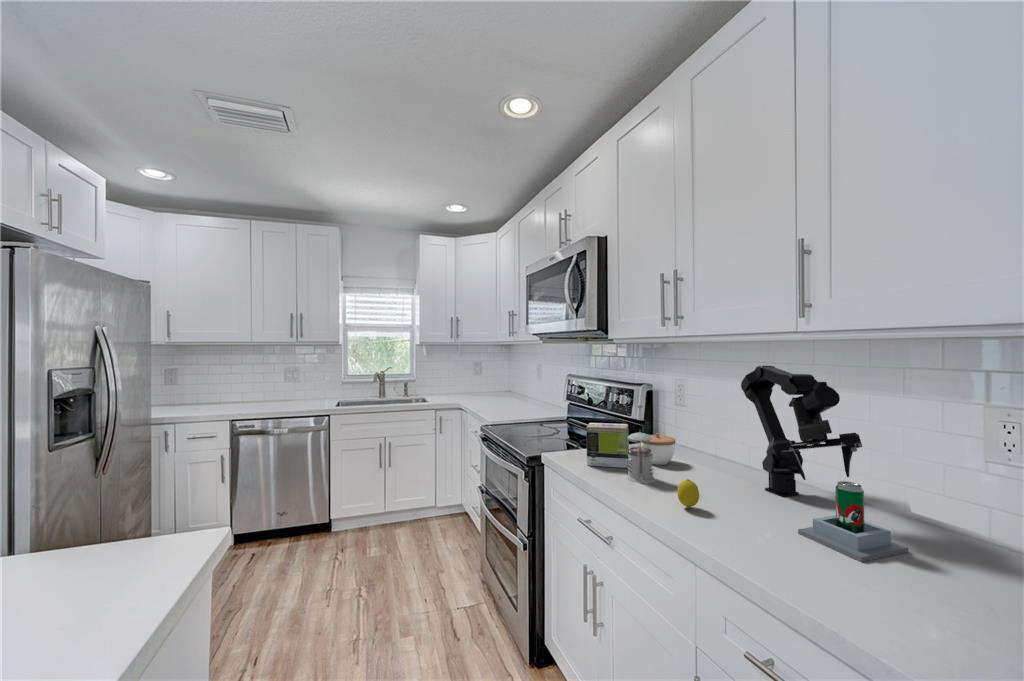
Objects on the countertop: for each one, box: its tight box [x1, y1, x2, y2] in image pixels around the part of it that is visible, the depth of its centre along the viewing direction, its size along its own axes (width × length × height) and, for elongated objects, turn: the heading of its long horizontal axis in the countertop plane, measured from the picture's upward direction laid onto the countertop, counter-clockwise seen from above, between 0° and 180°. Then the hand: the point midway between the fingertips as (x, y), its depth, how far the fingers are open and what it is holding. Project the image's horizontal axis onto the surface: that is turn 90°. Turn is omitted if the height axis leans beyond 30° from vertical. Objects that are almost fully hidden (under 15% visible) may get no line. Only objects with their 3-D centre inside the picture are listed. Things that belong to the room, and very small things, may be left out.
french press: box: [624, 403, 657, 484], centre depth 144 cm, size 10×12×25 cm
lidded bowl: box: [641, 432, 676, 466], centre depth 164 cm, size 13×13×11 cm
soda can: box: [835, 480, 865, 534], centre depth 97 cm, size 5×5×12 cm
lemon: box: [676, 478, 700, 509], centre depth 118 cm, size 6×6×8 cm
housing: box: [797, 514, 910, 563], centre depth 97 cm, size 14×14×4 cm
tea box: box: [585, 422, 630, 469], centre depth 162 cm, size 15×10×15 cm
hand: (825, 478), depth 109 cm, fingers open, 9 cm apart
